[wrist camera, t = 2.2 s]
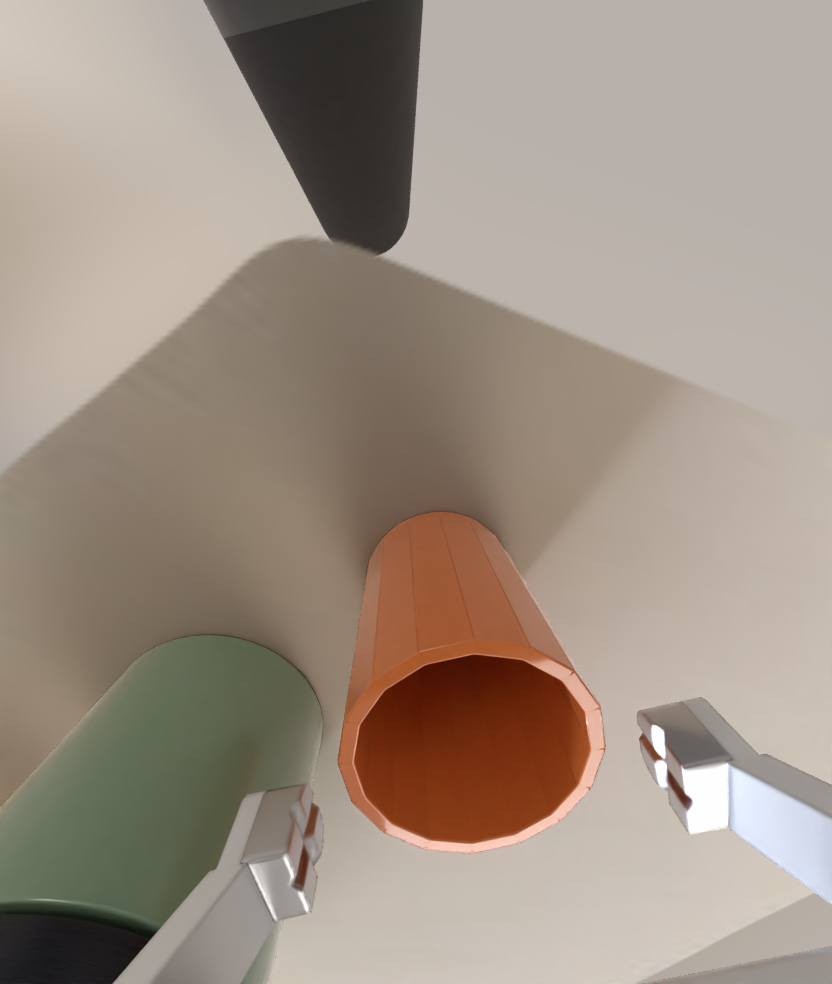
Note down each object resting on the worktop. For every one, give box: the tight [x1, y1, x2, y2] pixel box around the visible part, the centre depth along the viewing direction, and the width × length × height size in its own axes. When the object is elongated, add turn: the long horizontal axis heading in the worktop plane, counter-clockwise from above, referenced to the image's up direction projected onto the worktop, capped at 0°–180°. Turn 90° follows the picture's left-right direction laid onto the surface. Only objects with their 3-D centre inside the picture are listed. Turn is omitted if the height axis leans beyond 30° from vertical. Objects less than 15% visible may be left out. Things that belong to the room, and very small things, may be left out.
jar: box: [0, 635, 323, 984], centre depth 15 cm, size 10×10×12 cm
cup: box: [338, 512, 606, 853], centre depth 14 cm, size 6×6×9 cm
